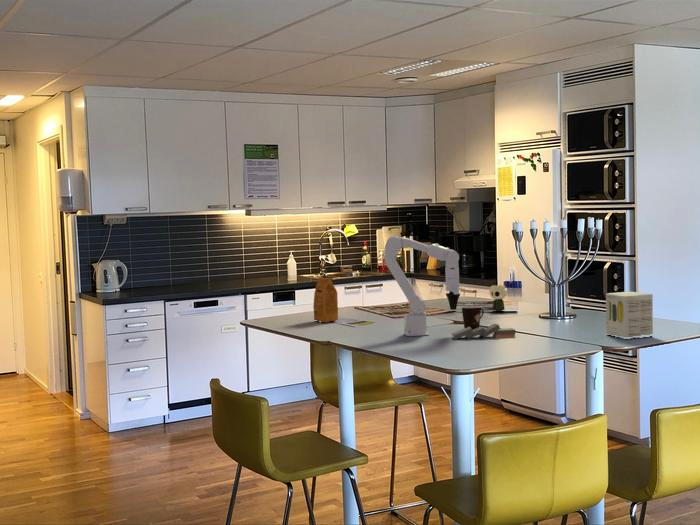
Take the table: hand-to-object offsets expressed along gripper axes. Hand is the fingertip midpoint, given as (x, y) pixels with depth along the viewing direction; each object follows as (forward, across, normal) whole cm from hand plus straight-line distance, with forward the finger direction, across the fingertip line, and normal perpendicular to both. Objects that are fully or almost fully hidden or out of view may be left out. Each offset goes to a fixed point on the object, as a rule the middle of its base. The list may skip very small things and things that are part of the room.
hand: (453, 309), depth 360 cm
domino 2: (+10, -14, -8) cm, 19 cm away
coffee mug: (+11, +10, -12) cm, 19 cm away
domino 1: (+10, -13, -2) cm, 16 cm away
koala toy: (+11, +64, -38) cm, 75 cm away
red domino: (+10, -13, -14) cm, 22 cm away
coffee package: (+10, +55, +51) cm, 76 cm away
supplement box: (+11, -28, -66) cm, 72 cm away
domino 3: (+9, -13, -14) cm, 21 cm away
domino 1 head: (+10, -13, +3) cm, 16 cm away
